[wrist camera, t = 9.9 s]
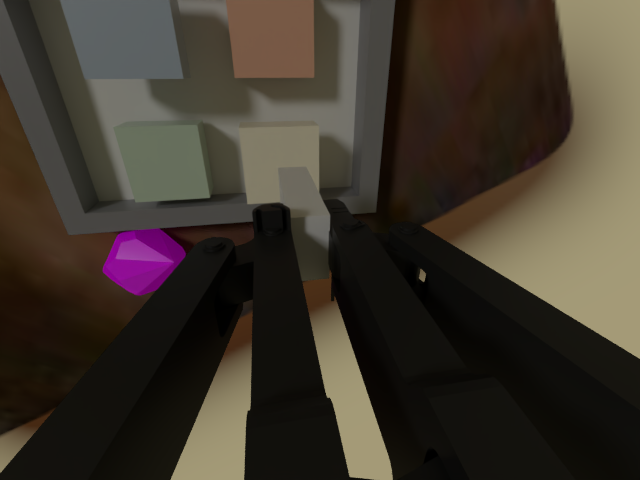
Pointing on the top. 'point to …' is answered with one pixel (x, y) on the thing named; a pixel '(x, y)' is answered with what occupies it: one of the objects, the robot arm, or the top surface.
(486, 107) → the top surface
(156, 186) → the key sage
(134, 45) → the key slate
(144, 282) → the crystal
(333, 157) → the grey tray
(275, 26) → the key terracotta
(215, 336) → the robot arm
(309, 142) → the key cream
